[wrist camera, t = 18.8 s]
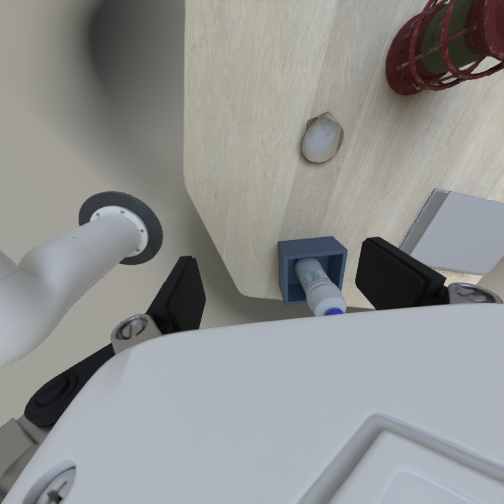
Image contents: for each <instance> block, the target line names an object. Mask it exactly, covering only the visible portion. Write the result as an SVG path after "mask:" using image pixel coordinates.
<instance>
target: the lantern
mask: <svg viewBox="0 0 504 504" xmlns="http://www.w3.org/2000/svg"><path fill="white" fill-rule="evenodd" d="M437 1H438V0H429V2H428V3H427V4H426V6H425V8H424V10H423V11H422V13H420V14H418V15H416V16H414V17H413V18H412V19H410V20H409V21H408V22H407V23H406V24H405V25H404V26H403V27H402V28H401V29H400V31H399V32H398V34H397V35H396V37H395V39H394V40H393V43H392V45H391V47H390V50H389V53H388V57H387V63H386V74H387V79H388V81H389V84H390V86H391V87H392V88H393V89H394V90H395V91H396V92H397V93H399V94H401V95H410V94H415V93H418V92H420V91H422V90H423V89H425V90H428V89H429V90H434V91H438V90H444V89H446V88H451V87H453V86H455V85H457V84H459V83H460V82H463V81H466V80H472V79H478V78H481V77H484V76H489V75H491V74H493V73H495V72H497V71H499V70H501V69H503V68H504V0H450V2H449V3H448V4H444V3H445V2H446V1H448V0H442V1H441V2H439V3H438V4H437V5H435V4H436V3H437ZM433 2H434V3H433ZM432 3H433V5H432ZM431 5H432V7H430V6H431ZM487 56H491V57H494V58H495V59H497V60H499V61H502V62H501V63H499V64H498V65H496V66H494V67H492V68H490V69H488V70H487V71H484V72H481V73H476V74H470V73H471V72H472V71H473V70H474V69H475V68H476V67H477V66H478V65H479V63H480V62H481V61H482V60H483V59H484V58H485V57H487ZM475 61H476V62H475ZM472 62H475V63H474V64H473V65H472V66H470V67H469V68H468V69H465V70H462V71H461V70H459V69H458V68H460V67H463V66H465V65H467V64H470V63H472ZM448 71H450V72H451V73H452V74H453V75H451V76H448V77H445V78H442V79H440V78H441V77H442V76H444V75H445V74H446V73H447V72H448ZM450 78H458V79H456V80H454V81H452V82H449V83H446V84H444V83H442V81H445V80H448V79H450ZM438 79H440V80H438ZM434 84H438V85H434Z"/></svg>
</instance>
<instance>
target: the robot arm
mask: <svg viewBox="0 0 504 504" xmlns="http://www.w3.org/2000/svg"><path fill="white" fill-rule="evenodd" d="M148 241H149V234H148V230H147V227H146V225H145V224H144V222H143V221H142V220H141V218H139V217H138V216H137V215H136V214H135V213H133V212H132V211H130V210H128V209H126V208H123V207H119V206H106V207H103V208H100V209H99V210H97V211H96V212H95V213H94V214H93V215H92V217H91V219H90V222H89V223H86V224H84V225H82V226H80V227H78V228H75V229H73V230H71V231H69V232H66V233H64V234H62V235H60V236H58V237H55V238H53V239H51V240H49V241H46V242H44V243H42V244H40V245H38V246H36V247H34V248H32V249H31V250H30V251H29V252H28V253H27V254H26V255H25V256H24V257H23V258H22V259H21V261H20V262H19V264H18V265H16V264H15V263H14V262H13V261H12V260H11V259H10V258H9V257H7V256H6V255H5V254H4V253H3V252H2V251H1V250H0V368H2V367H6V366H8V365H10V364H13V363H14V362H16V361H18V360H20V359H22V358H23V357H25V356H26V355H28V354H29V353H31V352H32V351H33V350H34V349H36V348H37V347H38V346H39V345H40V344H41V343H42V342H43V341H44V340H45V339H46V338H47V337H48V336H49V335H50V334H51V332H52V331H53V330H54V329H55V327H56V326H57V325H58V323H59V322H60V321H61V319H62V318H63V317H64V315H65V314H66V313H67V312H68V310H69V309H70V308H71V307H72V306H73V305H74V304H75V303H76V302H77V301H78V300H79V299H80V298H81V296H83V295H84V294H85V292H87V291H88V290H89V289H90V288H91V287H92V286H94V285H95V284H96V283H97V282H98V281H99V280H100V279H101V278H103V277H104V276H105V275H106V274H107V273H108V272H109V271H110V270H112V269H113V268H114V267H115V266H116V265H117V264H118V263H119V262H121V261H122V260H123V259H124V258H125V257H131V256H135V255H138V254H139V253H141V252H142V251H143V250H144V249H145V248H146V246H147V244H148ZM445 280H446V277H444V276H443V275H441V274H439V273H438V272H436V271H434V270H433V269H431V268H430V267H428V266H426V265H425V264H423V263H421V262H420V261H418V260H416V259H415V258H413V257H412V256H410V255H408V254H407V253H405V252H403V251H402V250H400V249H398V248H397V247H395V246H394V245H392V244H390V243H389V242H387V241H385V240H384V239H382V238H380V237H371V238H367V239H366V240H365V241H363V243H362V247H361V253H360V258H359V263H358V268H357V274H356V279H355V284H356V286H357V288H358V289H359V290H360V291H361V292H362V293H363V295H364V296H365V297H366V298H367V299H368V300H369V302H370V303H371V304H372V305H373V306H374V307H375V309H376V310H377V311H368V312H358V313H347V314H337V315H327V316H317V317H307V318H298V319H288V320H279V321H269V322H259V323H250V324H240V325H231V326H223V327H212V328H204V329H199V326H200V322H201V318H202V314H203V309H204V306H205V302H206V296H205V293H204V289H203V284H202V280H201V277H200V273H199V269H198V265H197V261H196V258H192V256H182V257H180V258H179V260H178V261H177V263H176V265H175V266H174V268H173V270H172V271H171V273H170V275H169V276H168V278H167V280H166V281H165V282H164V284H163V285H162V287H161V289H160V290H159V292H158V294H157V296H156V297H155V299H154V300H153V302H152V304H151V305H150V307H149V309H148V310H147V312H146V313H145V314H138V315H135V316H132V317H129V318H127V319H125V320H124V321H122V322H121V323H120V324H119V325H117V327H116V328H115V329H114V330H113V332H112V334H111V342H112V343H110V344H109V345H107V346H105V347H104V348H102V349H100V350H99V351H97V352H96V353H94V354H92V355H91V356H89V357H87V358H86V359H84V360H82V361H81V362H79V363H77V364H76V365H74V366H72V367H71V368H69V369H68V370H66V371H64V372H63V373H61V374H59V375H58V376H56V377H54V378H53V379H52V380H50V381H49V382H47V383H46V384H44V386H42V387H41V388H40V389H39V390H38V391H37V392H36V393H35V394H34V395H33V396H32V397H31V399H30V400H29V402H28V404H27V405H26V407H25V411H24V415H22V416H21V417H20V418H19V419H18V420H15V419H14V418H12V419H11V420H9V421H8V422H7V423H6V424H4V425H3V426H2V427H1V428H0V504H504V304H503V301H502V300H501V299H500V297H499V296H497V295H496V294H494V293H493V292H491V291H489V290H487V289H485V288H482V287H479V286H476V285H473V284H468V283H451V284H450V285H449V286H448V287H446V286H444V282H445Z"/></svg>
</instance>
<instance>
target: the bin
mask: <svg viewBox="0 0 504 504" xmlns="http://www.w3.org/2000/svg"><path fill="white" fill-rule="evenodd" d="M347 251H348V250H347V249H346V248H345V247H344V246H343V245H341V244H340V243H339V242H338V241H337V240H336V239H335V238H334V237H333V236H330V237H320V238H311V239H301V240H291V241H281V242H278V255H279V286H280V289H281V293H282V297H283V300H284V304H285V305H289V304H299V303H308V302H307V299H306V293H305V291H304V289H303V287H302V284H301V282H300V280H299V279H298V277H297V275H296V273H295V268H294V265H295V263H296V262H297V261H298V259H299V258H306V257H313V258H315V259H317V260H318V262H319V263H320V265H321V267H322V269H323V270H324V272H325V273H326V275H327V276H328V278H329V279H330V281H331V282H332V283H334V284H335V285H336V286H337V288H338V289H339V290H340V291H341V290H342V283H343V277H344V271H345V264H346V258H347Z"/></svg>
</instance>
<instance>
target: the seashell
mask: <svg viewBox="0 0 504 504" xmlns="http://www.w3.org/2000/svg"><path fill="white" fill-rule="evenodd" d="M343 138H344V131H343V128H342V126H341V125H340V124H339V123H338V122H337V121H336V120H335V118H334V117H333V116H332V114H331V113H330V112H326V113H324V114H322V115H320V116H318V117H315V118H312V119H310V120H308V122H307V131H306V134H305V136H304V138H303V140H302V144H301V146H302V148H301V149H302V153H303V155H304V156H305V158H306V159H308V160H309V161H311V162H313V163H322V162H325V161H327V160H329V159H331V158H332V157H333V156H334V155H335V154H336V153H337V152H338V151H339V149H340V147H341V145H342V142H343Z"/></svg>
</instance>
